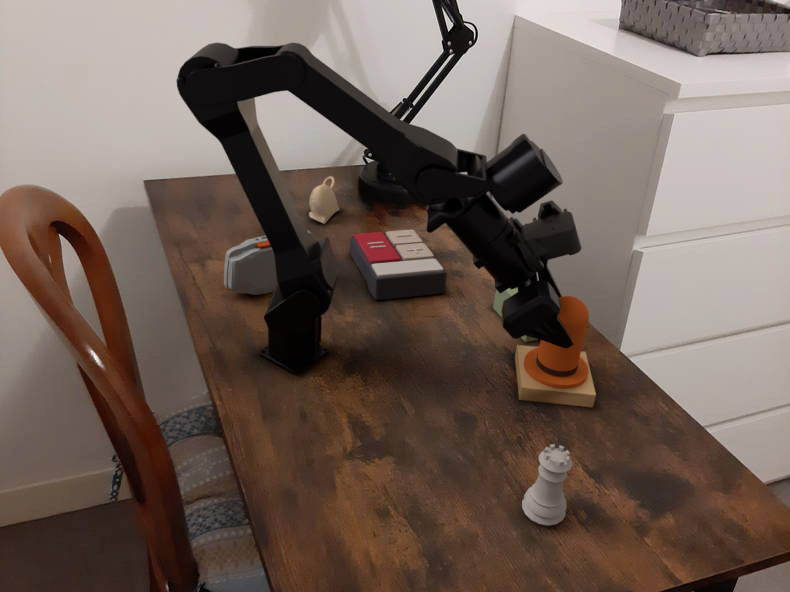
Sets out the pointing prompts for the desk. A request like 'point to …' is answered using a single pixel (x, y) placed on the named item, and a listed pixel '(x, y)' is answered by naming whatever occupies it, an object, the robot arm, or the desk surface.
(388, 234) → the calculator
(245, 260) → the handheld gaming console
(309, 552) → the desk surface
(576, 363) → the hat
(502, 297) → the sage box
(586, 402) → the stand
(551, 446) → the rook chess piece
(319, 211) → the decorative ornament
